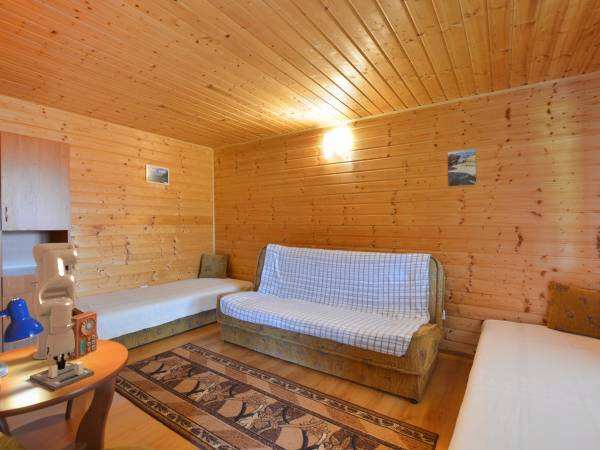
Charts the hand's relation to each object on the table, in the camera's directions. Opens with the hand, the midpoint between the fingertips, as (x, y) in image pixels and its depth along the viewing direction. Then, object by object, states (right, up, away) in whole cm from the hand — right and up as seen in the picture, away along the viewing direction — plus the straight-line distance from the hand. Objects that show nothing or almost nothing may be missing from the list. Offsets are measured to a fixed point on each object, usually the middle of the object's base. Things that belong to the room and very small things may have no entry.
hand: (60, 368), depth 143 cm
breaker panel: (0, -4, +1) cm, 4 cm away
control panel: (-8, -4, +26) cm, 27 cm away
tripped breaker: (-1, -2, -3) cm, 4 cm away
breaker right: (+8, -2, 0) cm, 9 cm away
